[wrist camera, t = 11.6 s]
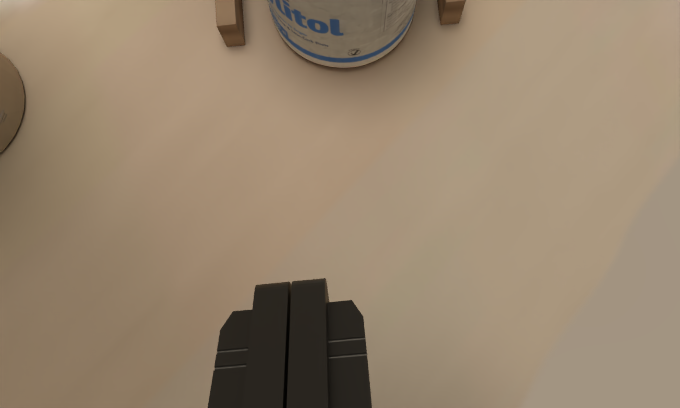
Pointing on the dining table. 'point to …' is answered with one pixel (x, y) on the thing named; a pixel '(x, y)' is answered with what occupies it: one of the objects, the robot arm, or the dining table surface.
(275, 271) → the dining table surface
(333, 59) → the supplement tub
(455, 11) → the walnut dock
